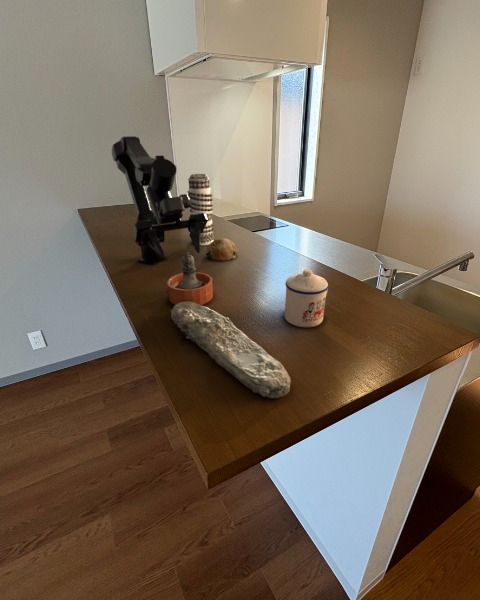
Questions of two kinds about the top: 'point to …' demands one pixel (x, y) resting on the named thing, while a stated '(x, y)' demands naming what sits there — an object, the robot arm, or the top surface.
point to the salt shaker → (189, 274)
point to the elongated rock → (232, 349)
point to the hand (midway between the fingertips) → (182, 255)
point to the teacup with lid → (305, 299)
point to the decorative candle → (201, 203)
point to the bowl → (190, 290)
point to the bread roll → (221, 250)
